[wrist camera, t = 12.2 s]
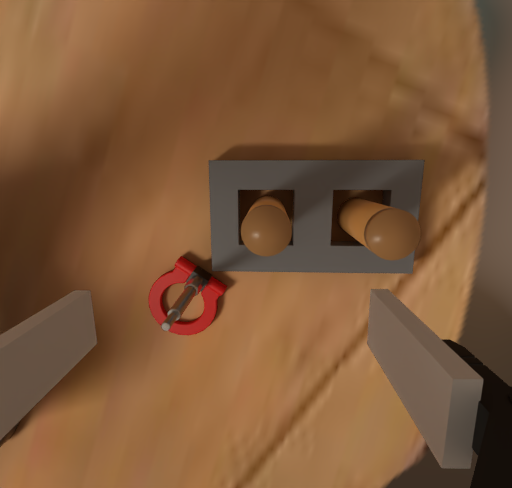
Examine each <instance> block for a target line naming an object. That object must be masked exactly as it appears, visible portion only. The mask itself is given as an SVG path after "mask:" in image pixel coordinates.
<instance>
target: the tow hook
mask: <svg viewBox="0 0 512 488" xmlns="http://www.w3.org/2000/svg"><path fill="white" fill-rule="evenodd" d="M175 266H176V267H175V269H174V270H173V271H169V272H167V273H165V274H164V275H162V276H161V277H160V278H159V279H158V280H157V281H156V282H155V283H154V284H153V286H152V288H151V290H150V294H149V307H150V310H151V313H152V315H153V317H154V318H155V320H156V321H157V322H158V323H159V324H160V325H161V328H162V329H163V330H164V331H170V332H172V333H176V334H179V335H192V334H197V333H199V332H201V331H203V330H205V329H206V328H207V327H208V326H209V325H210V324H211V322H212V321H213V319H214V318H215V315H216V312H217V308H218V300H217V299H218V297H219V296H221V295H222V294H223V293H224V292H225V290H226V288H227V286H226V285H225V284H223V283H222V282H220V281H219V280H217V279H215V278H214V277H212V275H211V274H209V273H208V272H206V271H205V270H203V269H202V268H200V267H199V266H196V265H194V264H193V263H191V262H190V261H188V260H187V259H185V258H184V257H182V256H181V257H180V258H179V259H178V260H177V261H176V263H175ZM185 282H187V284H186V285H185V287H184V291H183V293H182V294H181V295H180V297H179V298H178V299H177V301H176V302H175V303H174V305H173V306H172V307H171V309H170V310H169V311H168V313H167V312H166V310H165V309H164V306H163V301H162V297H163V293H164V291H165V289H166V288H167V287H168V286H170V285H172V284H176V283H185ZM200 291H201V295H202V297H203V299H204V307H205V308H204V312H203V314H202V315H201V316H200V317H199V318H198V319H196V320H194V321H190V322H181V321H178V320H179V319H180V317H181V316H182V314H183V312H184V311H185V309H186V308H187V306H188V305H189V303H190V302H191V300H192V299H193V297H194V296H196V295H198V294H199V292H200Z"/></svg>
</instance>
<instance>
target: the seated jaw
mask: <svg viewBox="0 0 512 488" xmlns="http://www.w3.org/2000/svg"><path fill="white" fill-rule="evenodd" d="M337 222H338V224H339V226H340V227H341V228H342V229H343V230H344V231H346V232H347V233H348V234H350V235H351V236H352V237H353V238H355V239H356V240H357V241H359V242H360V243H361V244H363V245H364V246H365V247H367V248H368V249H369V250H370V251H372V252H373V253H374V254H376V255H377V256H379V257H380V258H382V259H385V260H399V259H402V258H405V257H406V256H408V255H409V254H411V253H412V252H413V251H414V250H415V249H416V247H417V245H418V243H419V241H420V237H421V229H420V225H419V222H418V221H417V219H416V218H415V217H414V216H413V215H412V214H411V213H409V212H407V211H404V210H401V209H397V208H393V207H390V206H386V205H382V204H379V203H375V202H371V201H368V200H364V199H360V198H351V199H348V200H346V201H344V202H343V203H342V204H341V205H340V207H339V208H338V211H337Z"/></svg>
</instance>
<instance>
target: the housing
mask: <svg viewBox="0 0 512 488" xmlns="http://www.w3.org/2000/svg"><path fill="white" fill-rule="evenodd" d="M424 161H425V160H209V185H210V217H211V249H212V271H253V272H333V273H412V272H413V263H414V253H415V250H414V251H413V252H412V253H411V254H409V255H408V256H406V257H405V258H402V259H399V260H385V259H382V258H380V257H379V256H377V255H376V254H374V253H373V252H372V251H370V250H369V249H368V248H367V247H365V246H364V245H363V244H361V243H360V242H359V241H331V225H332V205H333V190H383V200H382V205H386V206H390V207H393V208H397V209H401V210H404V211H407V212H409V213H411V214H412V215H413V216H414V217H415V218H416V219H417V221H418V216H419V207H420V198H421V189H422V179H423V170H424ZM240 190H293V216H292V241H290V242H289V244H288V245H287V247H286V248H285V249H284V250H283V251H282V252H280V253H278V254H276V255H273V256H260V255H257V254H255V253H253V252H251V251H250V250H249V249H248V248H247V247H246V246H245V244H244V242H243V241H241V232H240Z"/></svg>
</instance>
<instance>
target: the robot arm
mask: <svg viewBox="0 0 512 488" xmlns="http://www.w3.org/2000/svg"><path fill="white" fill-rule="evenodd" d="M96 344H97V337H96V330H95V322H94V314H93V307H92V299H91V291H90V290H74V291H73V292H71V293H69V294H68V295H66V296H64V297H63V298H61V299H59V300H58V301H56V302H54V303H53V304H51V305H49V306H48V307H46V308H44V309H43V310H41V311H39V312H38V313H36V314H34V315H33V316H31V317H29V318H28V319H26V320H24V321H23V322H21V323H19V324H18V325H16V326H14V327H13V328H11V329H9V330H8V331H6V332H4V333H3V334H1V335H0V447H1V446H2V445H3V444H4V443H5V442H6V441H7V440H8V439H9V438H10V437H11V436H12V434H13V433H14V432H15V430H16V428H17V426H18V423H19V421H20V420H21V419H22V418H23V417H24V416H25V415H26V414H27V413H28V412H29V411H30V410H31V409H32V408H33V407H34V406H35V405H36V404H37V403H38V402H39V401H40V400H41V399H42V398H43V397H44V396H45V395H46V394H47V393H48V392H49V391H50V390H51V389H52V388H53V387H54V386H55V385H56V384H57V383H58V382H59V381H60V380H61V379H62V378H63V377H64V376H65V375H66V374H67V373H68V372H69V371H70V370H71V369H72V368H73V367H74V366H75V365H76V364H77V363H78V362H79V361H80V360H81V359H82V358H83V357H84V356H85V355H86V354H87V353H88V352H89V351H90V350H91V349H92V348H93V347H94V346H95V345H96ZM367 344H368V346H369V348H370V349H371V351H372V353H373V354H374V356H375V358H376V359H377V361H378V363H379V364H380V366H381V368H382V369H383V371H384V373H385V374H386V376H387V378H388V379H389V381H390V383H391V384H392V386H393V388H394V389H395V391H396V393H397V394H398V396H399V398H400V399H401V401H402V403H403V404H404V406H405V408H406V409H407V411H408V413H409V414H410V416H411V418H412V419H413V421H414V423H415V424H416V426H417V428H418V429H419V431H420V433H421V434H422V436H423V438H424V439H425V441H426V443H427V444H428V446H429V448H430V449H431V451H432V453H433V454H434V456H435V458H436V459H437V461H438V462H439V464H440V466H441V468H470V466H471V460H472V453H473V450H474V451H475V452H476V454H477V455H478V459H477V463H476V467H475V471H474V475H473V478H472V482H471V486H470V488H512V387H510V386H508V385H507V384H506V383H505V382H504V381H503V380H502V379H500V378H499V377H498V376H497V375H496V374H495V373H493V372H492V371H491V370H490V369H489V368H488V367H487V366H485V365H483V363H482V362H481V361H479V360H478V359H477V358H475V357H474V355H472V354H471V353H470V352H469V351H468V350H467V349H466V348H465V347H463V346H461V345H459V344H457V343H455V342H453V341H451V340H441V339H440V338H439V337H438V336H437V335H436V334H435V333H434V332H433V331H432V330H431V329H430V328H428V327H427V326H426V325H425V324H424V323H423V322H422V321H421V320H420V319H419V318H418V317H417V316H416V315H415V314H414V313H412V312H411V311H410V310H409V309H408V308H407V307H406V306H405V305H404V304H403V303H402V302H401V301H400V300H399V299H398V298H396V297H395V296H394V295H393V294H392V293H391V292H390V291H389V290H388V289H371V292H370V308H369V324H368V340H367Z"/></svg>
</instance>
